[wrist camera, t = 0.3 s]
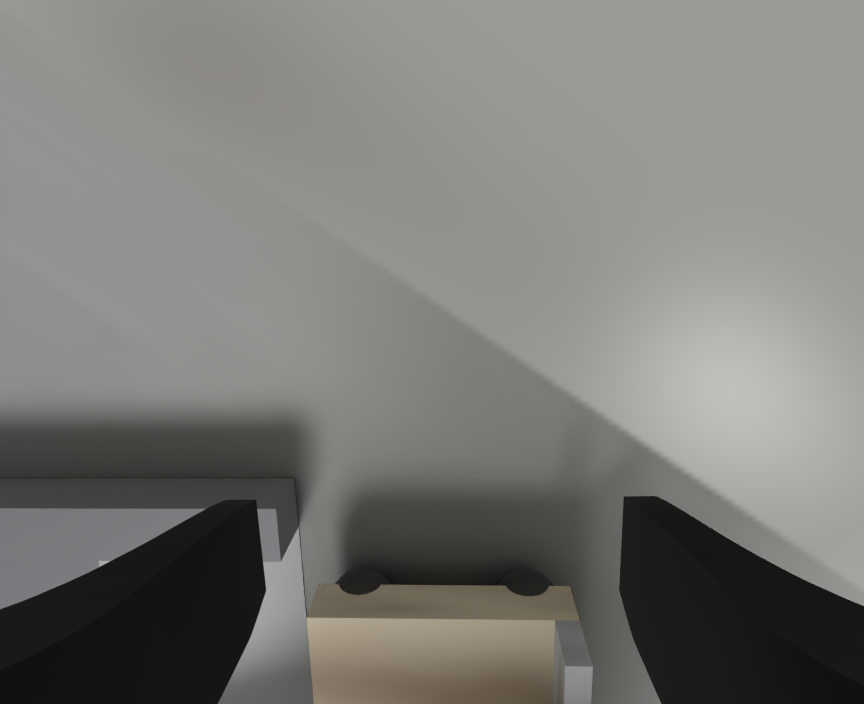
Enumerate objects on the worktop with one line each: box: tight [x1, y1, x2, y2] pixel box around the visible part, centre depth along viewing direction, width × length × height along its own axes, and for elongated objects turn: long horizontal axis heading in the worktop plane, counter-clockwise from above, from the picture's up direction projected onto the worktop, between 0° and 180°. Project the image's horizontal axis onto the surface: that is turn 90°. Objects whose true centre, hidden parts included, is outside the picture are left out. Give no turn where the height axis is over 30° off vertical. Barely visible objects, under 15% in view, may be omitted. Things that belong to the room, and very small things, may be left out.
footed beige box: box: [307, 568, 593, 704], centre depth 21 cm, size 8×9×5 cm
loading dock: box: [0, 478, 314, 704], centre depth 22 cm, size 14×20×6 cm
